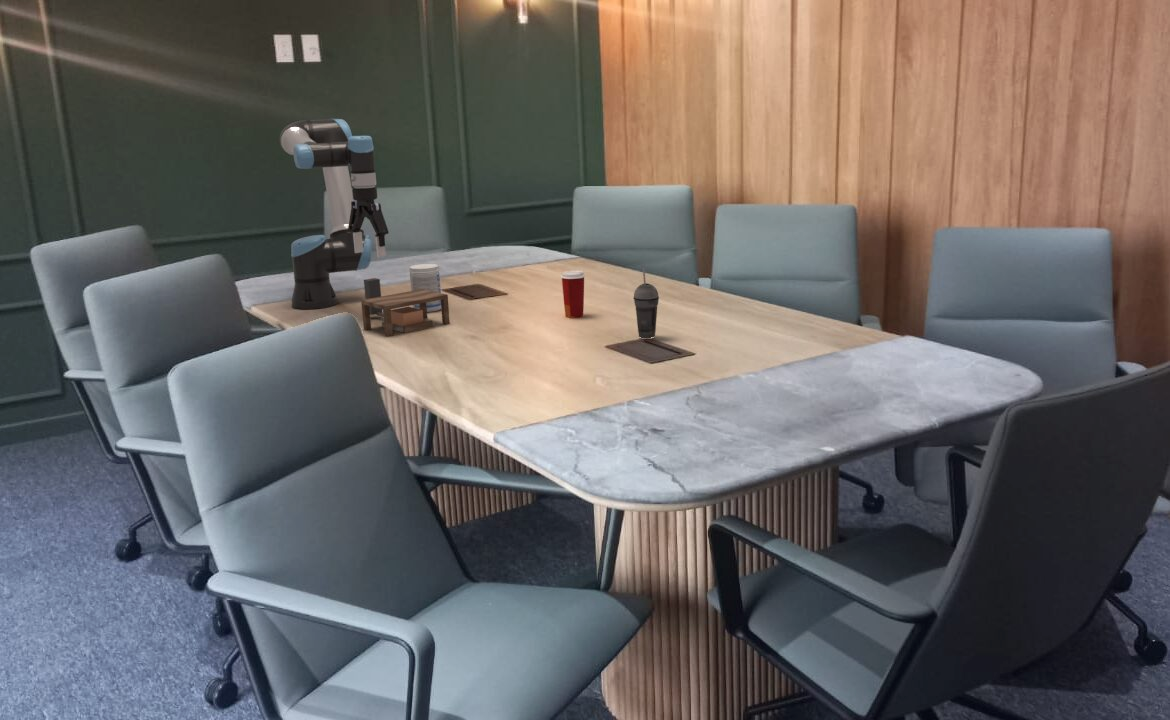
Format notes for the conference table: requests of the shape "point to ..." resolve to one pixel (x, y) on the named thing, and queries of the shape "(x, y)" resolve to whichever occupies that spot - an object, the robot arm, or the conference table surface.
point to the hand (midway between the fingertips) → (370, 254)
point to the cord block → (397, 315)
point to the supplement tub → (426, 282)
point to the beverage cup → (646, 308)
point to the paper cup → (573, 293)
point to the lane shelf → (402, 301)
